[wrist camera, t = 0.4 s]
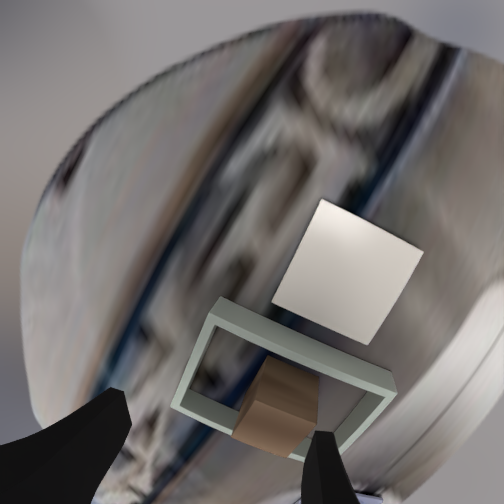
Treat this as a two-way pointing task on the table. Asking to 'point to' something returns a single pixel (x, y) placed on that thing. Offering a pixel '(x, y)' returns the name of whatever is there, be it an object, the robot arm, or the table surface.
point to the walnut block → (278, 408)
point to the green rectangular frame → (294, 349)
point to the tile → (346, 273)
